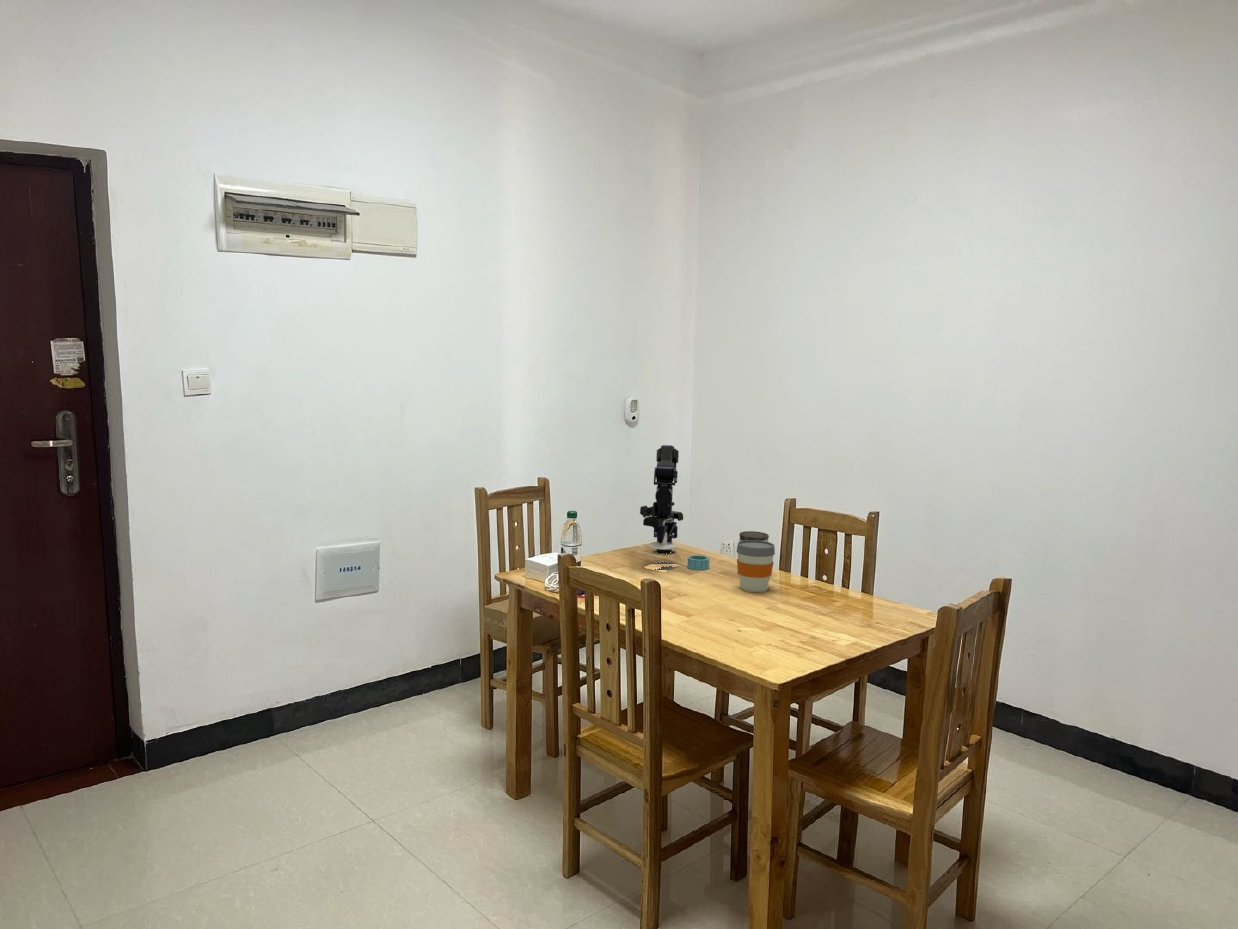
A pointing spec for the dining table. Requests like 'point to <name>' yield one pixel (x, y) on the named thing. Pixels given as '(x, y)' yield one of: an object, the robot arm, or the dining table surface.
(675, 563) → the mat
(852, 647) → the dining table surface
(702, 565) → the bowl
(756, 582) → the reusable coffee cup
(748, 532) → the coffee can
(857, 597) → the dining table surface
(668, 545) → the lid
